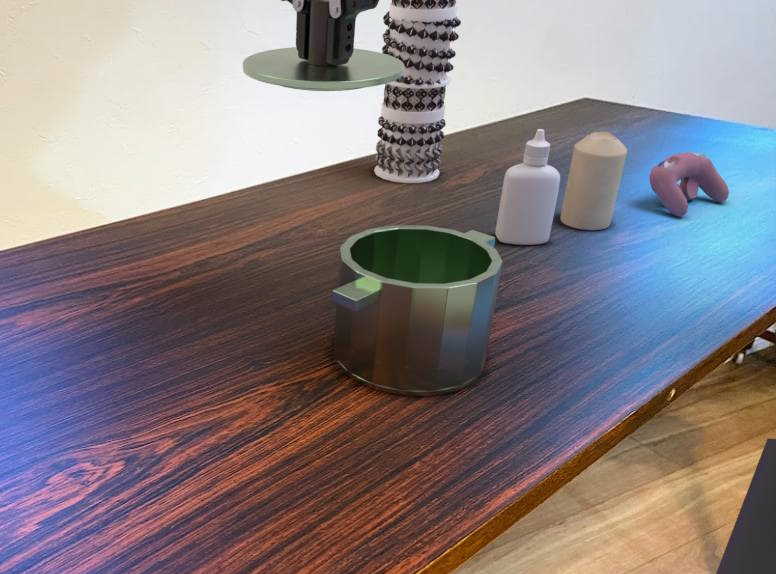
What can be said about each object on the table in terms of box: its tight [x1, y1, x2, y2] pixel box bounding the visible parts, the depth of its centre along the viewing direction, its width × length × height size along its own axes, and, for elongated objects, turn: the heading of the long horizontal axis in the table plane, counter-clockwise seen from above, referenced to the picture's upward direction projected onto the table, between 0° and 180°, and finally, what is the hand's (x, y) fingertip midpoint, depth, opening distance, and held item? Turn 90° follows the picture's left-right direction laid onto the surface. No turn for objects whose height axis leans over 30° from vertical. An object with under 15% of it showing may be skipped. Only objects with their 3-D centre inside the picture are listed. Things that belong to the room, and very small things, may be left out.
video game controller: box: [649, 151, 730, 218], centre depth 108 cm, size 10×5×7 cm, turn 124°
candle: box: [560, 131, 628, 231], centre depth 101 cm, size 6×6×10 cm
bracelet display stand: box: [373, 0, 462, 184], centre depth 112 cm, size 9×9×25 cm
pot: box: [331, 224, 503, 397], centre depth 75 cm, size 13×18×10 cm
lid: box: [242, 0, 404, 92], centre depth 76 cm, size 14×14×6 cm
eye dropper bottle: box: [494, 128, 561, 246], centre depth 96 cm, size 4×6×12 cm
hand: (323, 60), depth 77 cm, fingers closed on lid, 2 cm apart
